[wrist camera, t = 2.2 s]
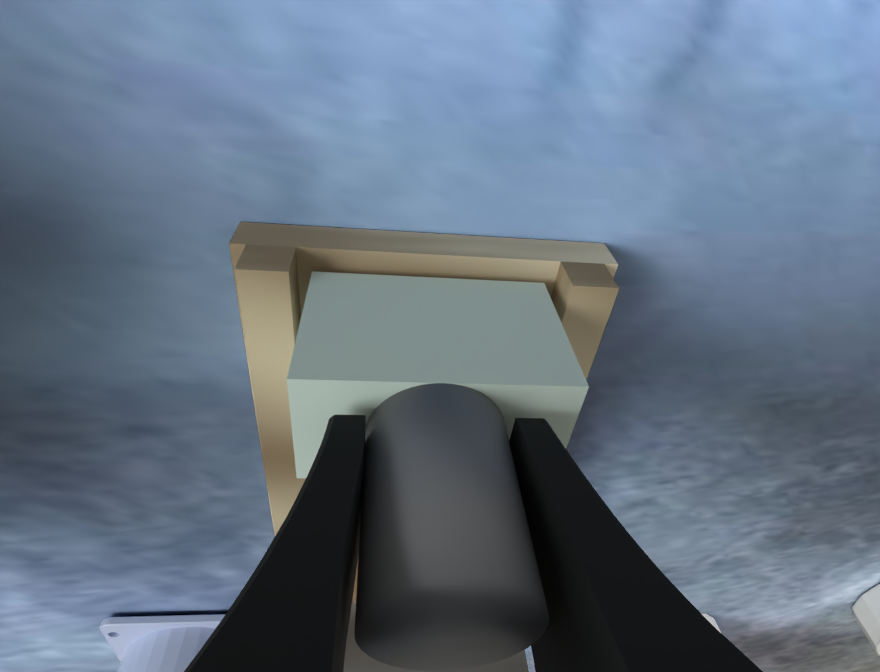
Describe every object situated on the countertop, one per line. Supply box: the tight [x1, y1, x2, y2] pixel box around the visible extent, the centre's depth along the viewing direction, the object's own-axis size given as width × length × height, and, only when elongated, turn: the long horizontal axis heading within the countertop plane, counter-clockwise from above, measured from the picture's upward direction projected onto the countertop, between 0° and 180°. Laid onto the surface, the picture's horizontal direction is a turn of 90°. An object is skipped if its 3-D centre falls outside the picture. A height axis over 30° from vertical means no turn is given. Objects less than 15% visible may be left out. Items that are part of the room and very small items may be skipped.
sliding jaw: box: [287, 272, 589, 671], centre depth 11 cm, size 3×6×8 cm, turn 84°
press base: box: [229, 222, 619, 672], centre depth 17 cm, size 18×10×6 cm, turn 174°
